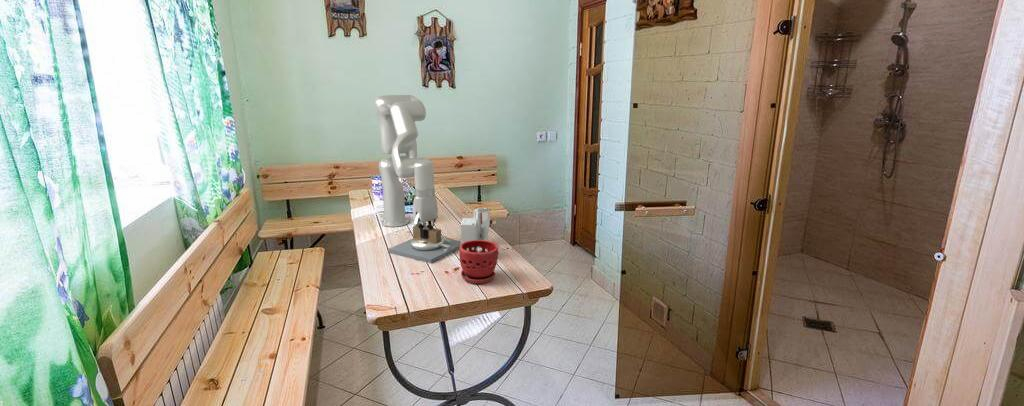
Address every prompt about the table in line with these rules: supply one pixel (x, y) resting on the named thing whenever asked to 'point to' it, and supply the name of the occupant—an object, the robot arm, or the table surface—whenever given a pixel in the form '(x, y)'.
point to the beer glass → (482, 222)
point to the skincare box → (469, 230)
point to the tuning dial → (431, 242)
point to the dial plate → (425, 256)
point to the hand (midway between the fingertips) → (427, 236)
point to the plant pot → (478, 261)
